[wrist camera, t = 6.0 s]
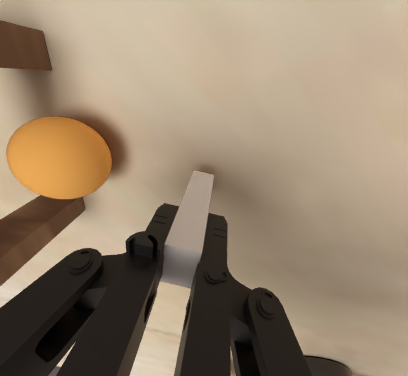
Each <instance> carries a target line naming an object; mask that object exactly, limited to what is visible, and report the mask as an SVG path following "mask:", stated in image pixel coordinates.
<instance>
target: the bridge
mask: <svg viewBox="0 0 408 376" xmlns="http://www.w3.org/2000/svg"><path fill="white" fill-rule="evenodd" d="M0 68H17V69H35V70H52V69H51V65H50V60H49V56H48V52H47V48H46V44H45V40H44V35H43V31H39V30H35V29H31V28H27V27H24V26H20V25H16V24H12V23H8V22H4V21H1V20H0ZM84 210H85V207H84V203H83V199H82V197H79V198H74V199H55V198H50V197H46V196H43V195H40V196H38V197H37V198H35V199H34V200H32V201H30V202H29V203H27V204H25V205H24V206H22V207H20V208H19V209H17V210H16V211H14V212H12V213H11V214H9V215H7V216H6V217H4V218H2V219H1V220H0V286H1V285H2V284H3V283H4V282H6V281H7V280H8V279H9V278H10V277H11V276H12V275H13V274H14V273H16V272H17V271H18V270H19V269H20V268H21V267H22V266H23V265H24V264H26V263H27V262H28V261H29V260H30V259H31V258H32V257H33V256H34V255H36V254H37V253H38V252H39V251H40V250H41V249H42V248H43V247H44V246H46V245H47V244H48V243H49V242H50V241H51V240H52V239H53V238H54V237H56V236H57V235H58V234H59V233H60V232H61V231H62V230H63V229H64V228H66V227H67V226H68V225H69V224H70V223H71V222H72V221H73V220H74V219H76V218H77V217H78V216H79V215H80V214H81V213H82V212H83V211H84Z"/></svg>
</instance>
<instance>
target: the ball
mask: <svg viewBox="0 0 408 376" xmlns="http://www.w3.org/2000/svg"><path fill="white" fill-rule="evenodd" d="M6 157H7V162H8V165H9V168H10V170H11V171H12V173H13V175H14V176H15V177H16V179H17V180H18V181H19V182H20V183H21V184H23V185H24V186H25V187H27V188H28V189H30V190H31V191H33V192H35V193H37V194H40V195H43V196H46V197H50V198H55V199H74V198H79V197H83V196H86V195H88V194H90V193H92V192H94V191H96V190H97V189H98V188H100V187H101V186H102V185H103V184H104V182H105V181H106V180H107V178H108V176H109V174H110V171H111V166H112V158H111V153H110V150H109V148H108V146H107V144H106V142H105V141H104V139H103V138H102V137H101V136H100V135H99V134H98V133H97V132H96V131H95V130H93V129H92V128H90V127H89V126H87V125H85V124H83V123H81V122H79V121H76V120H74V119H70V118H65V117H54V116H51V117H43V118H38V119H34V120H32V121H29V122H27V123H25V124H24V125H22V126H21V127H20V128H18V129H17V130H16V131H15V132H14V134H13V135H12V136H11V138H10V140H9V142H8V145H7V150H6Z"/></svg>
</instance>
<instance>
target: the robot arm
mask: <svg viewBox="0 0 408 376" xmlns="http://www.w3.org/2000/svg"><path fill="white" fill-rule="evenodd" d="M213 180H214V175H212V174H208V173H204V172H200V171H195V170H194V171H193V173H192V176H191V178H190V181H189V183H188V186H187V188H186V191H185V194H184V196H183V199H182V201H181V204H180V206H174V205H170V204H166V203H164V204H163V205H161V206H160V207H159V208H158V209H157V211H156V213H155V214H154V216H153V218H152V220H151V222H150V223H149V225H148V227H147V229H146V231H143V232H138V233H135V234H133V235H131V236H130V237H129V238H128V239H127V240H126V253H123V254H118V255H105V256H101V253H100V252H99V251H98V250H96V249H92V248H84V249H80V250H77V251H74V252H73V253H71V254H69V255H68V256H66V257H65V258H64V259H62V260H61V261H60V262H59V263H57V264H56V265H55V266H53V267H52V268H51V269H50V270H48V271H47V272H46V273H45V274H43V275H42V276H41V277H39V278H38V279H37V280H36V281H34V282H33V283H32V284H30V285H29V286H28V287H27V288H25V289H24V290H23V291H22V292H20V293H19V294H18V295H16V296H15V297H14V298H13V299H11V300H10V301H9V302H7V303H6V304H5V305H4V306H2V307H1V308H0V376H48V375H49V374H50V373H51V371H52V370H53V369H54V368H55V367H56V365H57V364H58V363H59V362H60V360H61V359H62V358H63V357H64V355H65V354H66V353H67V352H68V350H69V349H70V348H71V347H72V345H73V344H74V343H75V342H76V343H75V344H74V346H73V348H72V349H71V351H70V353H69V355H68V356H67V358H66V360H65V361H64V363H63V365H62V367H61V368H60V370H59V372H58V374H57V375H56V376H129V375H130V372H131V369H132V366H133V363H134V360H135V357H136V354H137V351H138V348H139V345H140V342H141V339H142V336H143V333H144V330H145V327H146V324H147V321H148V318H149V315H150V312H151V310H152V307H153V304H154V301H155V298H156V294H157V288H158V285H159V282H160V279H161V281H162V282H166V283H170V284H175V285H179V286H183V287H187V288H191V292H190V297H189V300H188V303H187V307H186V315H185V320H184V325H183V331H182V336H181V341H180V347H179V352H178V357H177V362H176V368H175V373H174V376H230V345H231V351H232V356H233V362H234V367H235V373H236V376H352V374H351V372H350V370H349V369H348V368H347V367H346V366H344V365H342V364H340V363H337V362H334V361H330V360H326V359H320V358H313V357H304V355H303V353H302V350H301V348H300V346H299V343H298V341H297V339H296V336H295V334H294V332H293V329H292V327H291V325H290V322H289V320H288V318H287V315H286V313H285V311H284V308H283V306H282V304H281V303H280V301H279V299H278V298H277V297H276V296H275V295H274V294H273V293H272V292H271V291H269V290H267V289H265V288H260V287H259V288H255V289H253V290H251V289H249V288H248V287H246V286H244V285H242V284H241V283H239V282H238V281H237V280H235V279H234V278H233V276H232V275H231V274H230V272H229V270H228V267H227V222H226V220H225V218H224V217H223V216H219V215H215V214H211V213H208V212H209V205H210V199H211V193H212V186H213Z"/></svg>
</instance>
